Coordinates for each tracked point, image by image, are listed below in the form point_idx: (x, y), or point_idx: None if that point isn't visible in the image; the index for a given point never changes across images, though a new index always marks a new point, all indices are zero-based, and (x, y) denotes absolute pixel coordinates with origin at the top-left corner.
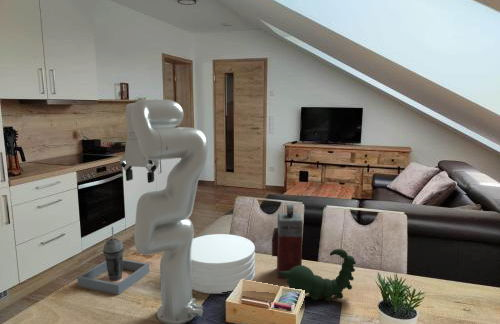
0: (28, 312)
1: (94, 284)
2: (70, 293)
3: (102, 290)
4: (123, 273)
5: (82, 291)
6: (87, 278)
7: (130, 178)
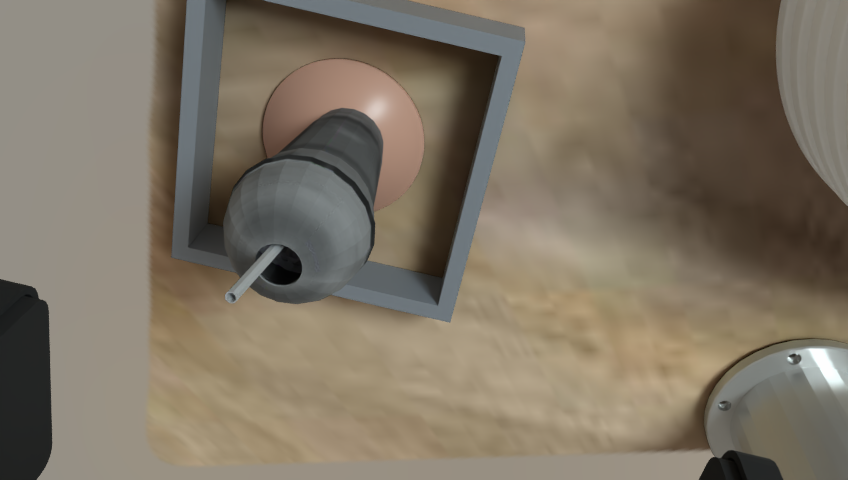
0: (151, 430)
1: None
2: (207, 297)
3: None
4: (362, 78)
5: None
6: None
7: (25, 398)
